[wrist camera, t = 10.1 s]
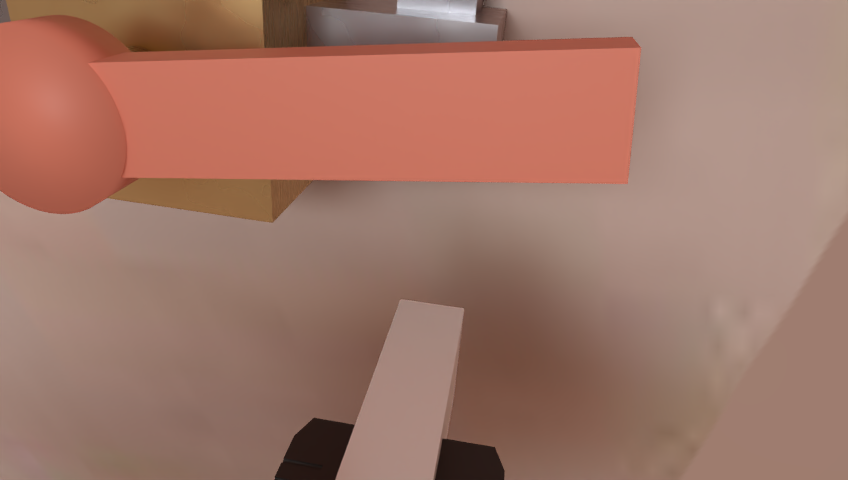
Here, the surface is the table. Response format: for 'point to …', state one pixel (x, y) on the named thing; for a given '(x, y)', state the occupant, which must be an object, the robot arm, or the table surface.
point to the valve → (260, 28)
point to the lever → (305, 112)
